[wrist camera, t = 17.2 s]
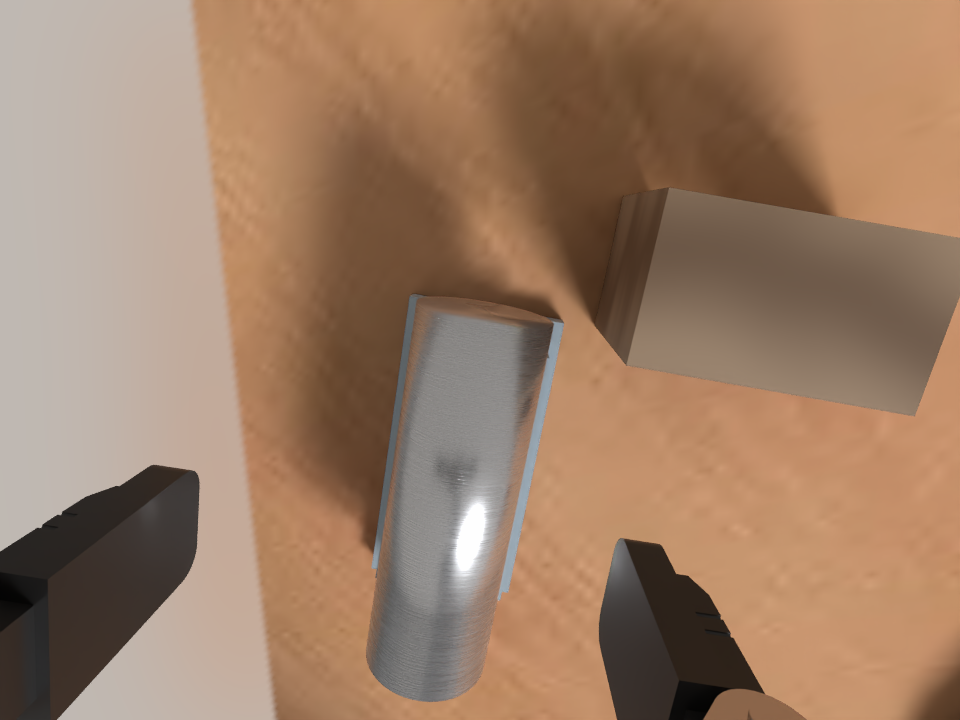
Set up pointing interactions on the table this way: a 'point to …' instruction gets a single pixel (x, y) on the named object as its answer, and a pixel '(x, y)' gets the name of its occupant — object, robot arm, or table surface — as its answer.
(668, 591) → the robot arm
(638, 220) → the brown bridge block
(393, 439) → the cradle
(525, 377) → the axle
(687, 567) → the table surface
